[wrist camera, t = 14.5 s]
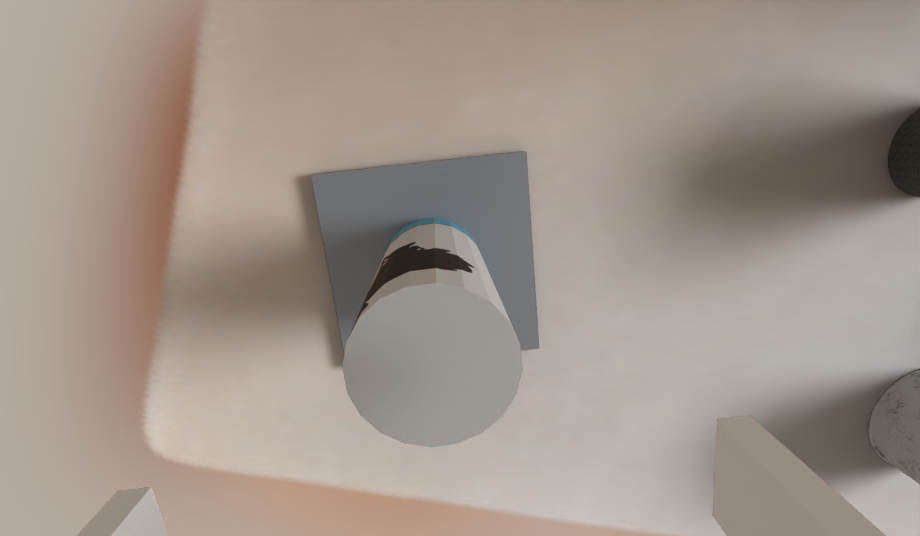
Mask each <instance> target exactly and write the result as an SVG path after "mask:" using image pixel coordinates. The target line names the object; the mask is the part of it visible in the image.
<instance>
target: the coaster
mask: <svg viewBox="0 0 920 536" xmlns="http://www.w3.org/2000/svg"><path fill="white" fill-rule="evenodd" d="M311 180H312V185H313V190H314V196H315V201H316V206H317V212H318V217H319V222H320V228H321V233H322V238H323V244H324V249H325V254H326V260H327V265H328V271H329V276H330V281H331V287H332V292H333V297H334V303H335V308H336V313H337V319H338V324H339V329H340V335H341V340H342V345H343V351H344V354H345V348H346V342H347V340H348V337H349V335H350V333H351V330H352V328H353V326H354V323H355V321H356V319H357V316H358V314H359V312H360V309H361V307H362V305H363V303H364V300H365V298H366V296H367V293H368V291H369V289H370V286H371V284H372V282H373V279H374V277H375V275H376V273H377V270H378V268H379V266H380V263H381V261H382V259H383V256H384V254H385V252H386V250H387V248H388V246H389V244H390V242H391V240H392V238H393V237H394V236H395V235H396V234H397V233H398V232H399V231H400V230H401V229H402V228H403V227H404V226H406V225H409V224H411V223H413V222H415V221H417V220H421V219H429V218H438V219H443V220H449V221H451V222H453V223H455V224H457V225H459V226H460V227H462V228H464V229H465V230H466V231H467V232H468V233H469V234H470V236H471V237H472V238H473V239H474V240H475V242H476V245H477V247H478V249H479V251H480V253H481V256H482V258H483V260H484V262H485V265H486V267H487V269H488V272H489V274H490V276H491V279H492V281H493V283H494V285H495V288H496V290H497V292H498V295H499V297H500V299H501V301H502V304H503V306H504V308H505V311H506V313H507V315H508V318H509V320H510V322H511V324H512V327H513V329H514V331H515V334H516V336H517V338H518V341H519V343H520V347H521V350H529V349H537V348H539V337H538V321H537V306H536V291H535V275H534V260H533V244H532V229H531V214H530V198H529V183H528V167H527V152H525V151H522V152H513V153H504V154H495V155H486V156H476V157H467V158H458V159H449V160H440V161H431V162H422V163H413V164H404V165H395V166H385V167H376V168H367V169H358V170H349V171H340V172H331V173H322V174H314V175H311Z"/></svg>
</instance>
